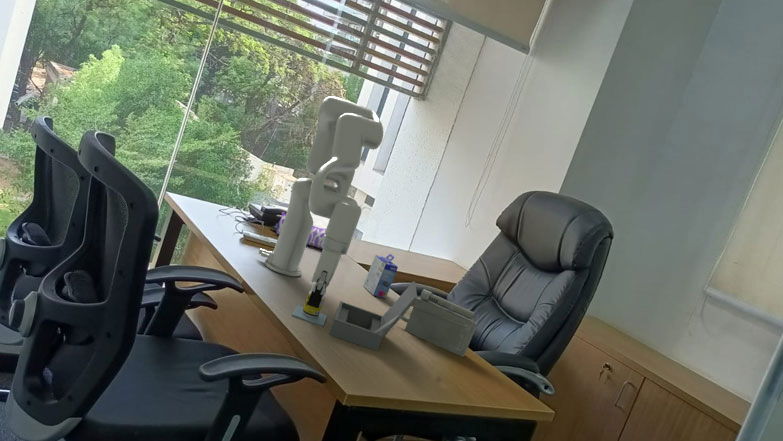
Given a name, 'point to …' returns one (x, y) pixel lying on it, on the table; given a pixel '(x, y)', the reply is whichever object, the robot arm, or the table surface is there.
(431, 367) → the table surface
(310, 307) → the supplement bottle
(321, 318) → the pad
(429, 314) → the geiger counter
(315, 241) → the pencil case
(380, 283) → the ink cartridge box
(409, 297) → the case
